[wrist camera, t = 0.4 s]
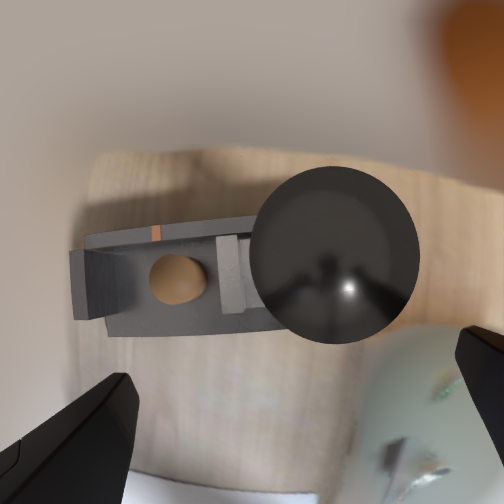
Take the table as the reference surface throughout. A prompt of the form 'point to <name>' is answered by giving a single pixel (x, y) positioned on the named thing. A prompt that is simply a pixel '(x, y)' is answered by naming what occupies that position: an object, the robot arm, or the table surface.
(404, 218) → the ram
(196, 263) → the tan rounded cylinder
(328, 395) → the table surface
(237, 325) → the grey channel tray
